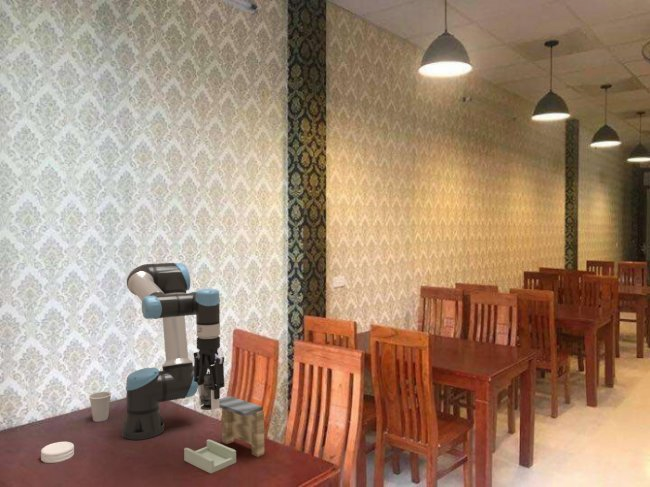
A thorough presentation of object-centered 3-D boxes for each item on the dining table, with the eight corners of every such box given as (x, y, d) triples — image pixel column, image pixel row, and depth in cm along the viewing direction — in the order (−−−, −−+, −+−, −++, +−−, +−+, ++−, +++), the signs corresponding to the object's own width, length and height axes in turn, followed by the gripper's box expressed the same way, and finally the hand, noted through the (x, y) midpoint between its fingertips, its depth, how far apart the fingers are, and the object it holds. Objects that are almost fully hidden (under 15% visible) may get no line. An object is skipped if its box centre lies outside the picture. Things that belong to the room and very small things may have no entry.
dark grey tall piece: (213, 410, 167) (213, 374, 167) (196, 409, 168) (196, 373, 168) (220, 404, 173) (220, 369, 172) (204, 403, 174) (203, 368, 174)
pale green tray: (184, 460, 172) (184, 448, 172) (209, 450, 180) (209, 439, 180) (210, 473, 163) (210, 461, 162) (236, 462, 170) (236, 450, 170)
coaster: (80, 454, 177) (80, 444, 177) (52, 466, 169) (52, 455, 169) (62, 448, 182) (62, 438, 182) (34, 459, 174) (34, 449, 174)
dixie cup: (84, 421, 208) (84, 397, 207) (99, 414, 216) (99, 390, 215) (102, 423, 205) (101, 398, 205) (116, 416, 213) (115, 392, 213)
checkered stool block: (211, 446, 183) (210, 401, 183) (228, 439, 189) (228, 395, 189) (246, 461, 171) (245, 413, 170) (264, 453, 177) (263, 407, 176)
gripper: (181, 334, 173) (182, 403, 174) (216, 342, 161) (217, 415, 162) (200, 331, 179) (201, 397, 180) (235, 338, 167) (236, 409, 167)
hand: (209, 406), depth 171 cm, fingers closed on dark grey tall piece, 6 cm apart
